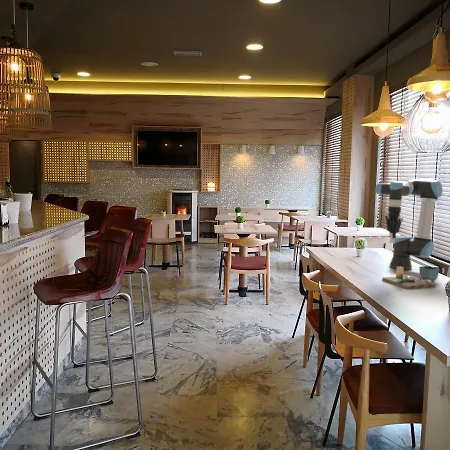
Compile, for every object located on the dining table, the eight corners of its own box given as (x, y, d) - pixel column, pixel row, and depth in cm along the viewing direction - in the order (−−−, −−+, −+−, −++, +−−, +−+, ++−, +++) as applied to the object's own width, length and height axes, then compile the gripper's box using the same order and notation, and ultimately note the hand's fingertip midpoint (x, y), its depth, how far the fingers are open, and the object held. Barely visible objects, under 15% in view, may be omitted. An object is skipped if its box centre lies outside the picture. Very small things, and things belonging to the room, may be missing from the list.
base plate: (409, 278, 310) (409, 273, 309) (435, 287, 289) (436, 281, 289) (382, 280, 301) (382, 275, 301) (407, 289, 281) (408, 283, 281)
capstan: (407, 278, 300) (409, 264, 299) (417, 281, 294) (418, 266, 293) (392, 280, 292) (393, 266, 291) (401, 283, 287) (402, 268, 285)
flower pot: (417, 279, 308) (418, 266, 307) (428, 279, 311) (429, 265, 310) (427, 283, 300) (429, 269, 299) (438, 282, 303) (439, 268, 302)
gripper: (407, 207, 295) (404, 244, 299) (391, 205, 307) (388, 240, 310) (398, 207, 292) (395, 245, 295) (382, 205, 304) (380, 241, 307)
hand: (392, 242), depth 303 cm, fingers closed
